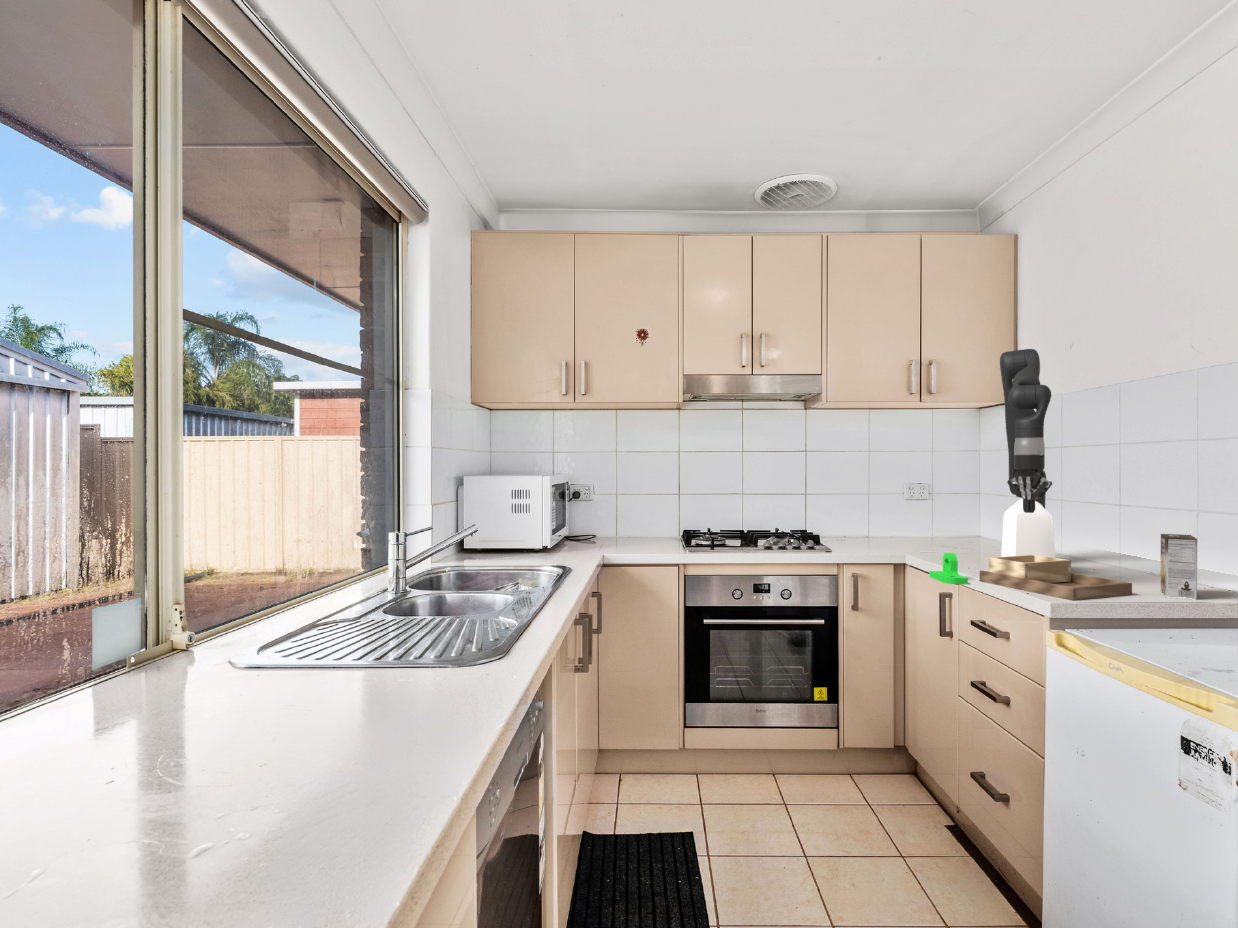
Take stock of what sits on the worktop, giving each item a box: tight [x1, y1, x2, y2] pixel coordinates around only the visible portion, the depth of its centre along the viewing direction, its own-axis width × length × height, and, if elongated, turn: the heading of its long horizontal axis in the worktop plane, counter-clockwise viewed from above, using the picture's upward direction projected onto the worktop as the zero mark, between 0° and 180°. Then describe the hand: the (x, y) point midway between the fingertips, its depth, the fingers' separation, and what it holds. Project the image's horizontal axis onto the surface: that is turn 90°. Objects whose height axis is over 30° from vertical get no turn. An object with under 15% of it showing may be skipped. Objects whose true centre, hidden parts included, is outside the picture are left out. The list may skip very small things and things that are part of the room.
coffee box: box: [1160, 533, 1198, 600], centre depth 170 cm, size 9×6×16 cm
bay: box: [979, 570, 1133, 601], centre depth 181 cm, size 28×22×3 cm
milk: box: [1000, 497, 1056, 558], centre depth 206 cm, size 12×12×26 cm
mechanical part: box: [928, 552, 969, 585], centre depth 192 cm, size 12×6×8 cm, turn 176°
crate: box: [988, 555, 1072, 583], centre depth 187 cm, size 12×18×6 cm, turn 109°
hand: (1029, 512), depth 188 cm, fingers closed
